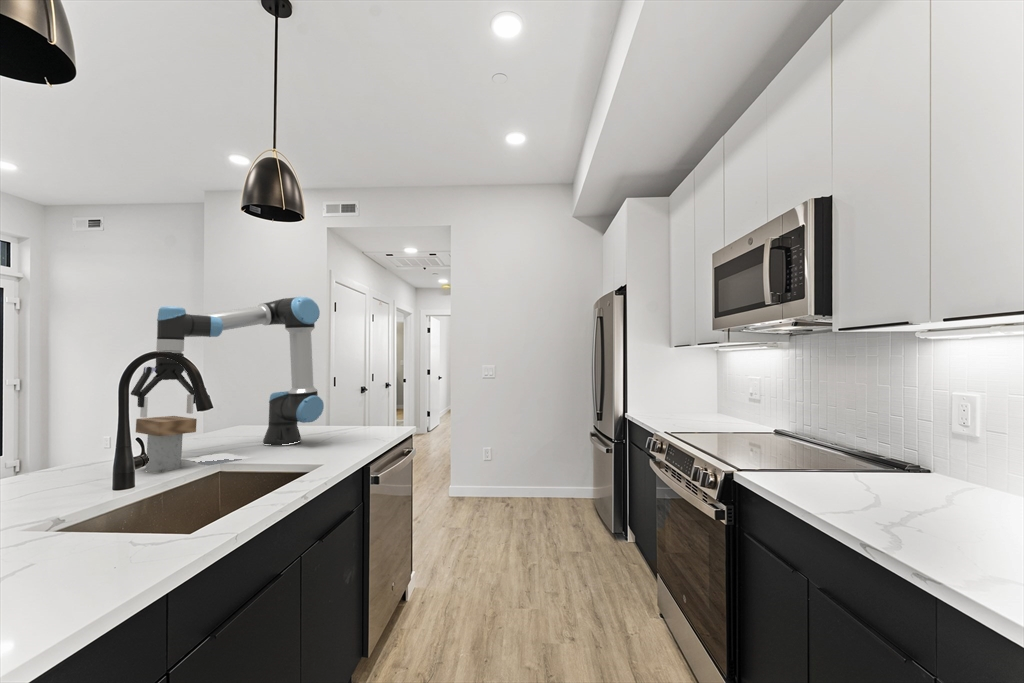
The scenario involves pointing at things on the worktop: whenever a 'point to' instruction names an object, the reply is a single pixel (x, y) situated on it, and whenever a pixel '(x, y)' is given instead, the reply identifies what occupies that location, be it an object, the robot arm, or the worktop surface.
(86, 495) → the worktop surface
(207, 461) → the mat
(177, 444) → the grey speckled cylinder
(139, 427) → the board
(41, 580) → the worktop surface
